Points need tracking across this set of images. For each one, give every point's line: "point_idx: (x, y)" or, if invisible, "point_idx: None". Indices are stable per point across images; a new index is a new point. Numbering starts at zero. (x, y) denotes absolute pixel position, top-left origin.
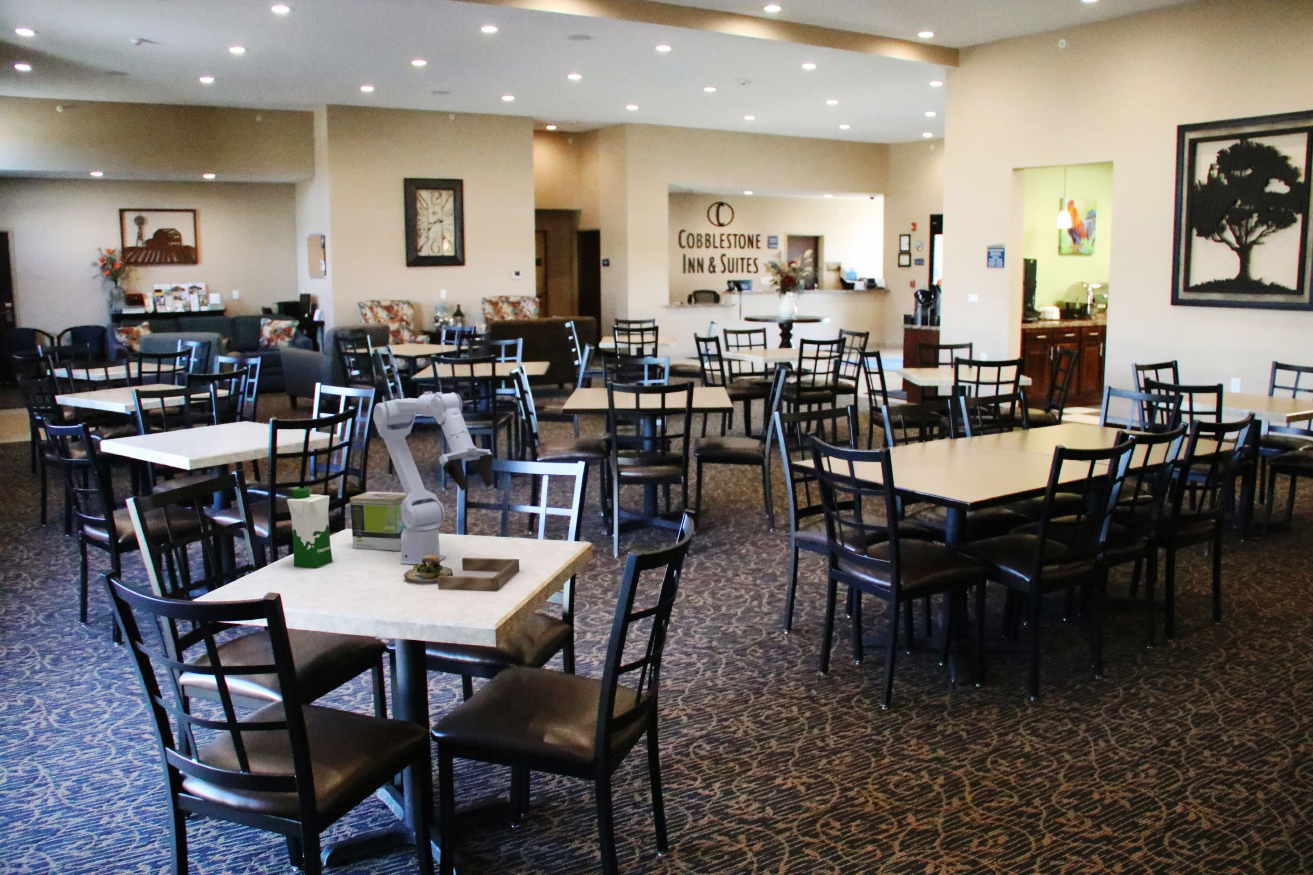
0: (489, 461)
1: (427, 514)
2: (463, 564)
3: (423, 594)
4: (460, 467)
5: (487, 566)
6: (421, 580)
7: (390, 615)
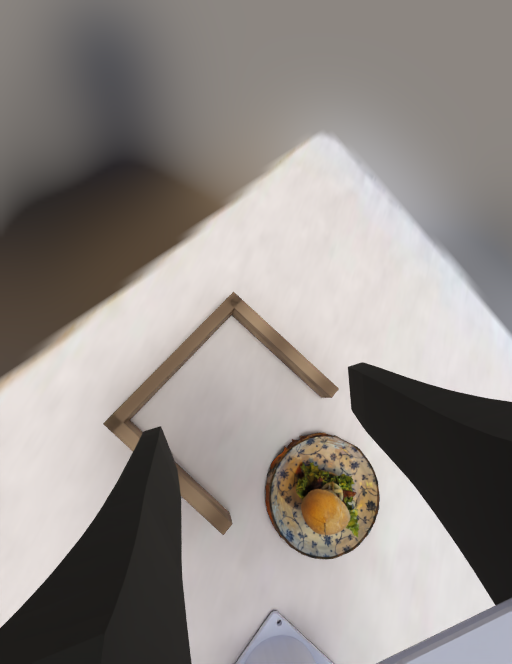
0: (70, 587)
1: None
2: (228, 515)
3: None
4: (482, 414)
5: (179, 468)
6: (350, 451)
7: (441, 286)
